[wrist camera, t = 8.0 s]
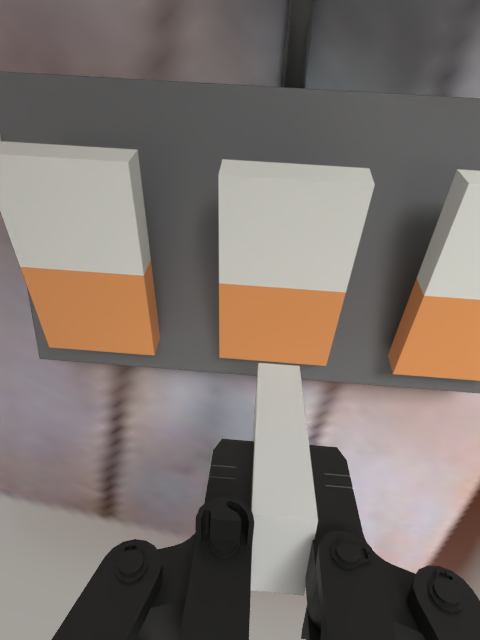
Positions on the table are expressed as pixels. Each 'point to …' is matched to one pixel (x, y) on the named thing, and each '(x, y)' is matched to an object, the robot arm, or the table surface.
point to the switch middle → (286, 256)
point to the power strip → (265, 146)
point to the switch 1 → (82, 244)
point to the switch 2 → (446, 294)
